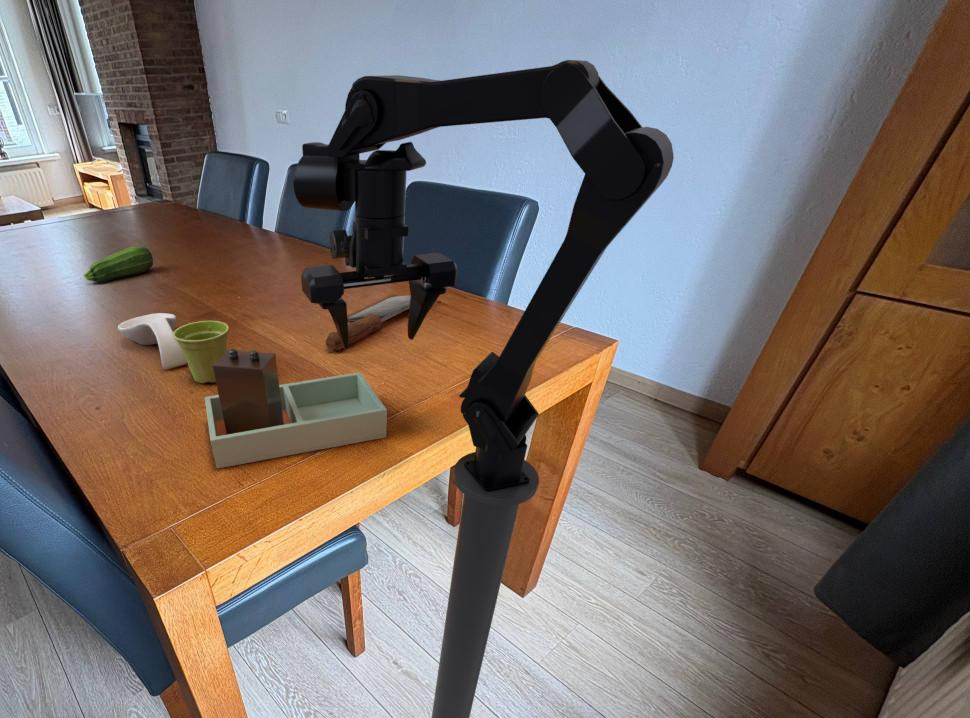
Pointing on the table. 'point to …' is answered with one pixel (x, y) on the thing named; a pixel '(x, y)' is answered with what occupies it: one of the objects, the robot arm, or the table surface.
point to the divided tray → (304, 421)
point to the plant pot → (202, 347)
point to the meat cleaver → (369, 320)
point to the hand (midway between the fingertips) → (378, 343)
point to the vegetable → (121, 264)
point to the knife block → (248, 390)
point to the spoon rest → (156, 336)
